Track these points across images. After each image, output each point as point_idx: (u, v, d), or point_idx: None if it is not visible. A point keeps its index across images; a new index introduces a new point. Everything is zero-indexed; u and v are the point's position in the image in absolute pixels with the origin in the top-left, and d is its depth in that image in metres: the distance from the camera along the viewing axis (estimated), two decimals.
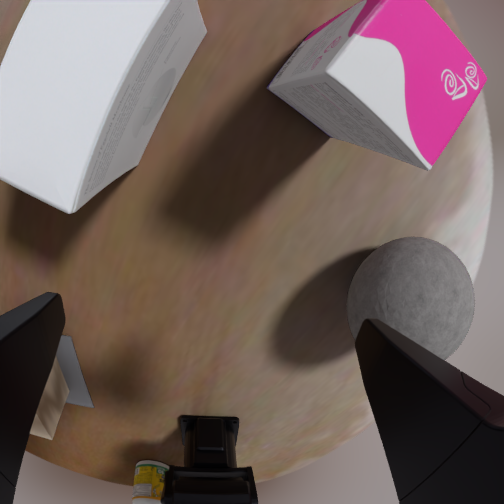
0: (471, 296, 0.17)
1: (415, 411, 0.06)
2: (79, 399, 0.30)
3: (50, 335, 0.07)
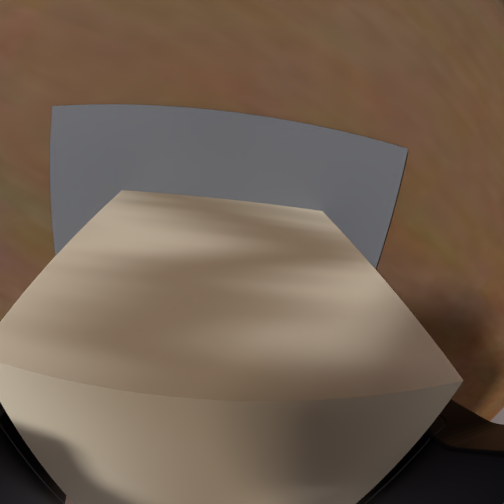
0: None
1: None
2: (365, 188, 0.09)
3: None
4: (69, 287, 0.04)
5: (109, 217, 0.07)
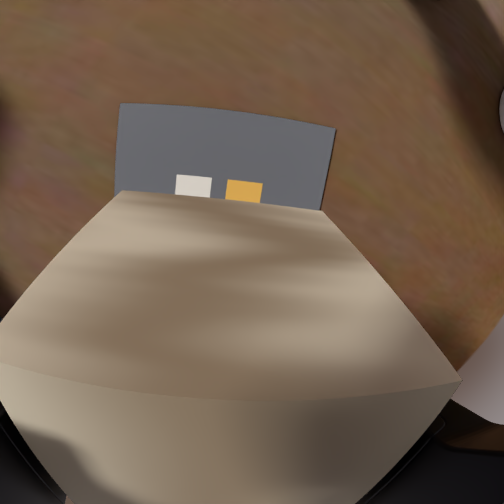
0: None
1: None
2: (308, 153, 0.16)
3: None
4: (69, 287, 0.04)
5: (108, 217, 0.07)
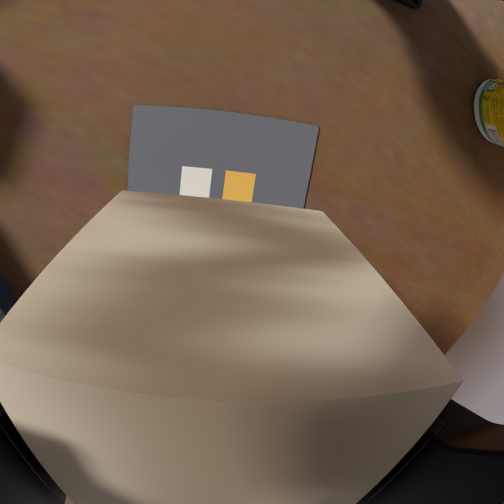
0: None
1: None
2: (295, 147, 0.18)
3: None
4: (69, 288, 0.04)
5: (108, 217, 0.07)
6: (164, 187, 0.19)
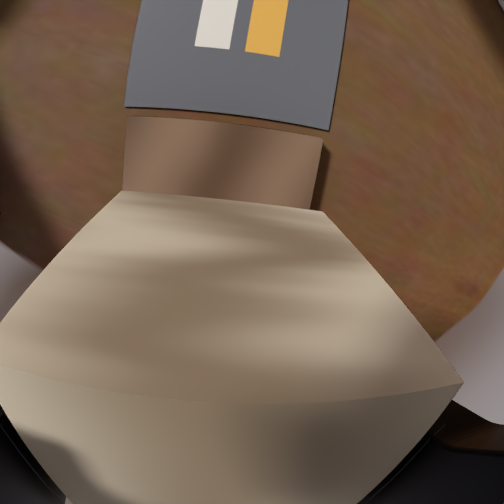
0: None
1: None
2: None
3: None
4: (68, 289, 0.04)
5: (108, 217, 0.07)
6: (185, 2, 0.13)
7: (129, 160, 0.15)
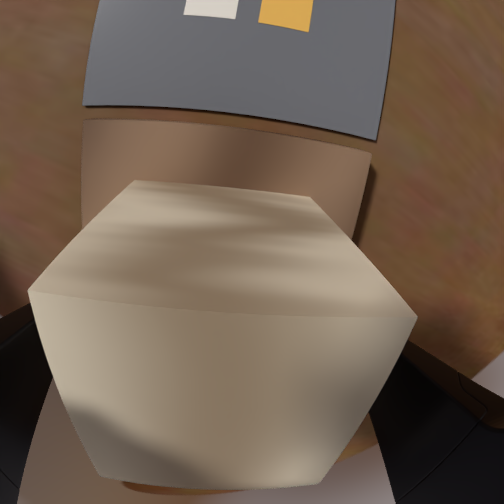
0: None
1: (411, 412, 0.06)
2: None
3: None
4: (100, 246, 0.05)
5: (126, 199, 0.08)
6: None
7: (88, 185, 0.10)
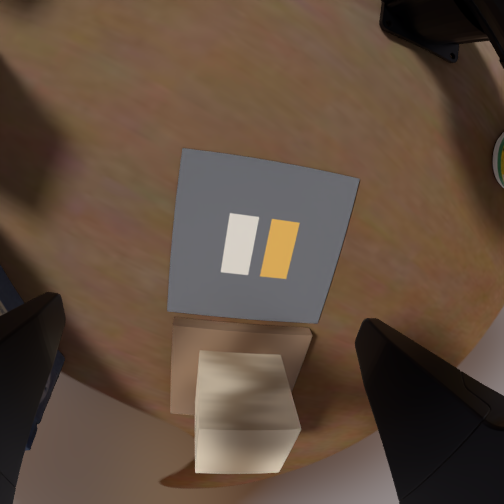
0: None
1: (415, 411, 0.06)
2: (336, 198, 0.20)
3: (50, 335, 0.07)
4: (210, 407, 0.18)
5: (204, 373, 0.20)
6: (211, 232, 0.20)
7: (175, 350, 0.22)
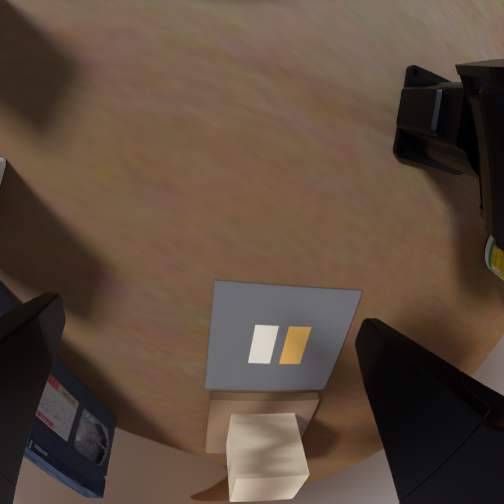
0: None
1: (415, 412, 0.06)
2: (342, 307, 0.24)
3: (50, 335, 0.07)
4: (243, 461, 0.22)
5: (236, 433, 0.25)
6: (240, 338, 0.24)
7: (212, 414, 0.27)
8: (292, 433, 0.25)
